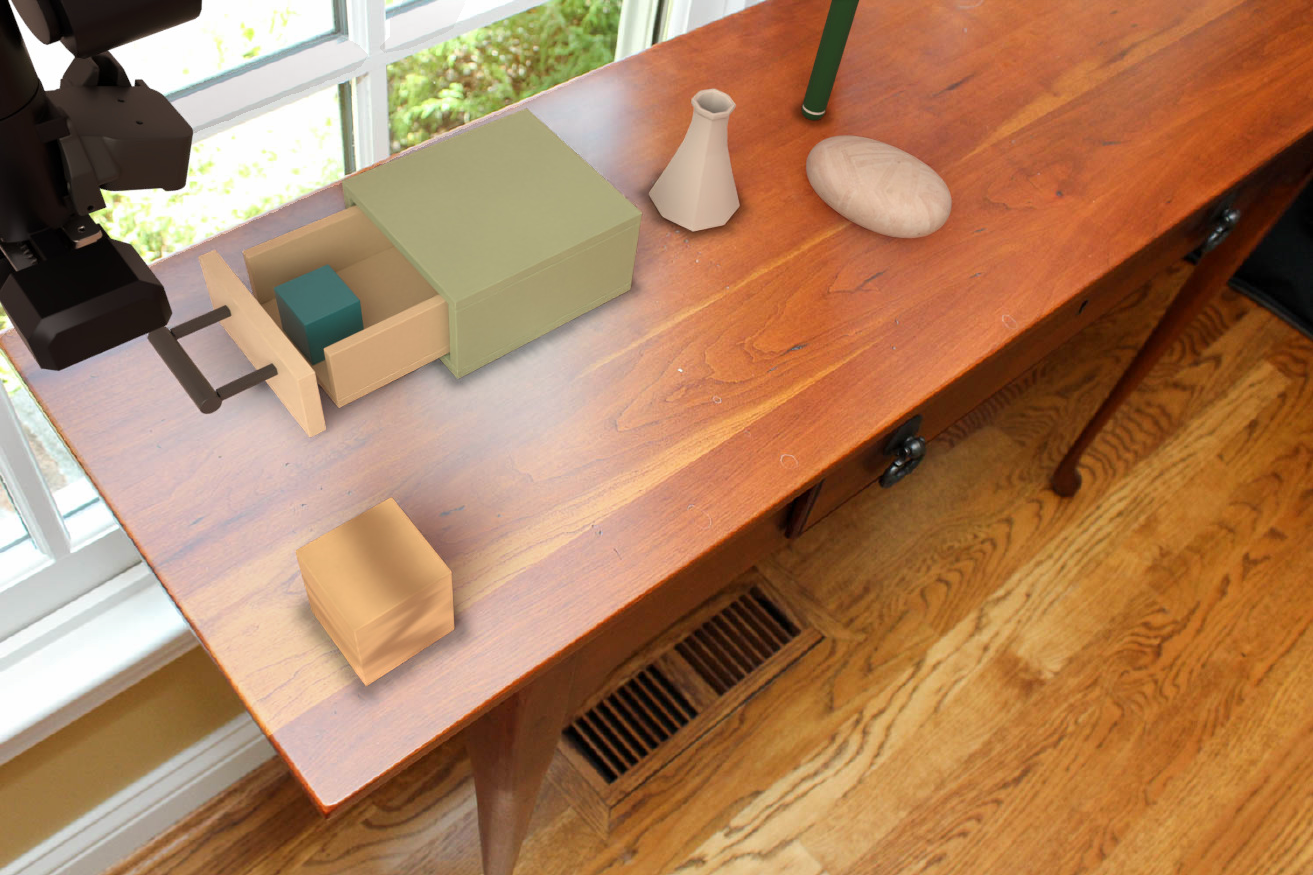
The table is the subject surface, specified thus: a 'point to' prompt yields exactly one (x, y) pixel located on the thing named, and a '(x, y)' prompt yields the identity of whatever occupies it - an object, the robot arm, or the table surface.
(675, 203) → the flask
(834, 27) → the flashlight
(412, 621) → the riser
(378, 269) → the drawer
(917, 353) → the table surface
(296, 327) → the block
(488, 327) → the cabinet
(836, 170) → the decorative stone
